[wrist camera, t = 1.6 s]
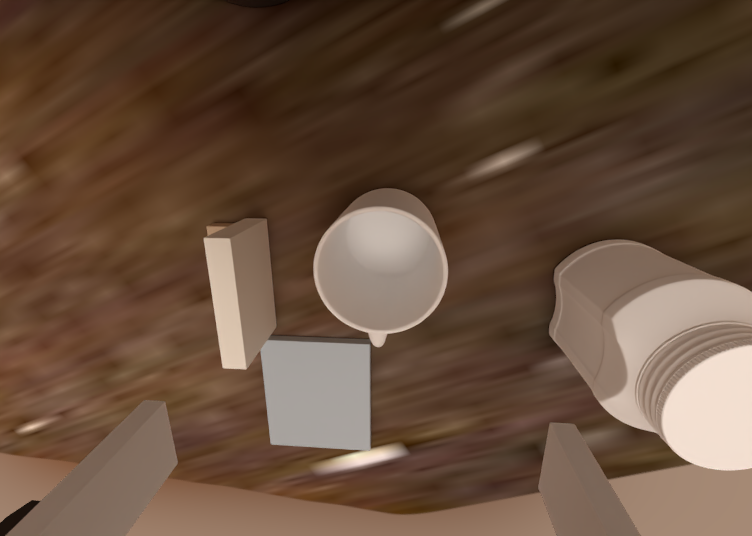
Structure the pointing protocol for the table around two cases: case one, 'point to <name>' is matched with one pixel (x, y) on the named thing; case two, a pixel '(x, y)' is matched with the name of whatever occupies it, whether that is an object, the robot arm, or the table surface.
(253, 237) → the beige block
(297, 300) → the table surface
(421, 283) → the mug
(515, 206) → the table surface
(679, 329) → the jar
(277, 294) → the table surface
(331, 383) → the plate
